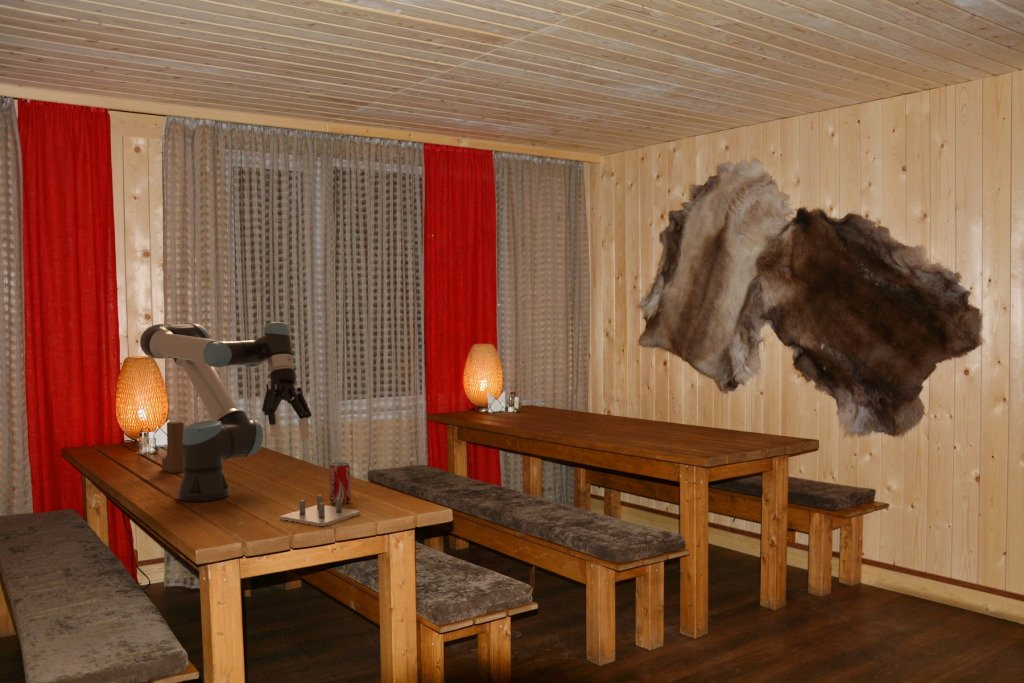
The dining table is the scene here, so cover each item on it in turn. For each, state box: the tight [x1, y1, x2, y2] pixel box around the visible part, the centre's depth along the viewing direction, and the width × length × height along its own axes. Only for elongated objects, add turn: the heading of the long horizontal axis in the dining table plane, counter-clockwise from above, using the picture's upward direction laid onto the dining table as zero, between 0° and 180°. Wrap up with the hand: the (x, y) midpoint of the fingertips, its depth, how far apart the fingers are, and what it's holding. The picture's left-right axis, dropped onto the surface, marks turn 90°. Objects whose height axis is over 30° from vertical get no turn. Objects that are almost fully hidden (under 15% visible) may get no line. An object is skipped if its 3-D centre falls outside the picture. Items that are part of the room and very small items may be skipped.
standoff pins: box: [298, 494, 343, 519], centre depth 245 cm, size 9×9×4 cm
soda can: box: [329, 461, 352, 505], centre depth 262 cm, size 6×6×12 cm
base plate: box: [279, 504, 362, 527], centre depth 245 cm, size 16×16×1 cm
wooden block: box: [161, 420, 185, 474], centre depth 310 cm, size 9×4×18 cm, turn 46°
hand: (290, 437), depth 259 cm, fingers open, 13 cm apart
